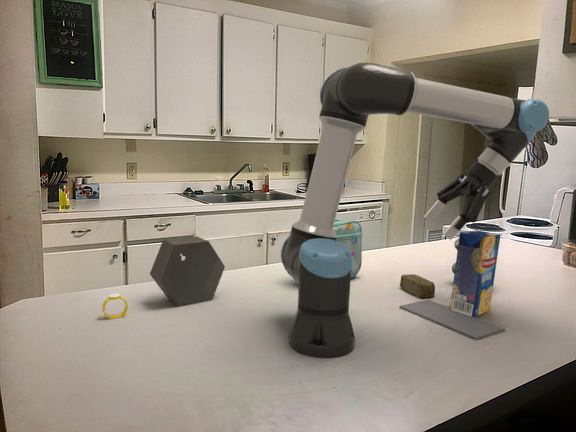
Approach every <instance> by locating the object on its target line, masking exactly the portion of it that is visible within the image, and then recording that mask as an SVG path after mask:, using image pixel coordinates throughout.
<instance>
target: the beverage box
mask: <svg viewBox="0 0 576 432" xmlns="http://www.w3.org/2000/svg"><path fill="white" fill-rule="evenodd" d="M501 235H502V234H501V233H500V234H499V233H494V232H488V231H483V230H477V229H476V230H469V231H467V230H466V231H459V236H458V237H459V238H458V239H459V244H458V251H457V250H456V251H457V252H456V259H455V263H456V266H455V274H454V273H453V284H452V289H451V290H452V291H451V298H450V305H449V307H450V310H451V311H455V312H458V313H461V314H465V315H468V316H471V317H477V316H480V315H482V314H484V313H487V312H489V311H491V305H492V297H493V289H494V283H495V282H494V281H495V275H496V268H497V261H498V254H499V247H500V241H501Z"/></svg>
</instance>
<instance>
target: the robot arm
mask: <svg viewBox="0 0 576 432" xmlns="http://www.w3.org/2000/svg"><path fill="white" fill-rule="evenodd" d="M319 101H320V104H321V109H320V111H319V117H318V119H319V121H320V122H321V124H322V128H321V129H322V130H321V135H320V138H319V143H318V146H317V149H316V154H315V158H314V162H313V167H312V169H311V173H310V178H309V182H308V186H307V190H306V194H305V198H304V202H303V204H302V205H303V206H302V210H301V214H300V217H299V220H297V221H295V222H294V223H293V224H292V225H291V228H290V233H289V236H288V237H287V238H285V240H284V241H283V244H282V245H281V249H280V259H281V263H282V264H283V268H284V270H285V271H286V273H288V275H289V276H290V277H291V278H294V279H295V280H296V281H295V280H294V279H293V280H294V281H295V282H296V283H297V284H298V289H297V290H298V295H297V310H296V314H295V315H294V319H293V322H292V325H291V327H290V329H289V333H288V344H289V345H290V347H291V348H292V349H293V350H295V351H297V352H298V353H300V354H301V353H302V354H304V355H308V356H312V357H317V358H318V357H319V358H331V357H333V358H334V357H340V356H344V355H346V354H349V353H351V352H352V351H353V350H354V349H355V341H356V339H355V338H356V336H355V332H354V328H353V325H352V324H353V323H352V320H351V317H350V313H349V312H350V310H349V309H350V293H351V281H352V278H351V269H352V259H351V251H350V249H349V247H348V246H346V245H345V244H343V243H341V242H339V241H336V239H337V235H336V233H335V231H334V229H333V226H334V222H335V219H337V214H338V210H339V206H340V201H341V197H342V194H343V190H344V187H345V182H346V178H347V175H348V171H349V167H350V164H351V160H352V155H353V152H354V147H355V143H356V140H357V136H358V134H359V133H361V132H363V131H364V130H365V129H366V126H367V122H368V119H369V115H383V114H384V115H387V114H388V115H396V116H403V115H405V114H407V113H410V114H415V115H422V116H426V117H431V118H437V119H438V118H439V119H443V120H449V121H454V122H459V123H464V124H470V126H472V127H474V128H475V129H476V130H477V131H479V133H481V134H482V135H483V136H485V138H487V139H488V141H490V143H489V145H488V146H487V147H486V148H485V150H483V152H482V153H481V154H480V155H479V156H478V157H477V160H478V161H474V162H473V164H472V165H471V166H470V167H469V168H468V170H467V173H468V174H469V175H468V176H466V175H465V174H463V173H462V174H460V175H459V176H458V177H457V178H456V179H455V180H453V181H452V182H450V183H449V184H448V185H447V186H445V187H444V188H442V189H441V190H440V191H438V192H437V194H436V196H437V200H436V202H435V203H434V204H433V205H432V206H431V208H430V209H429V210H428V211H427V212H426V213H425V215H424V216H423V217H424V218H425V219H426V220H427V221H429V222H430V223H432V222H433V221H434V220H435V219H436V218H437V216H438V215H439V214H440V213H441V212H442V210H443V209H444V208H445V207H446V206H447V205H448V203H449V202H450V201H453V200H454V199H457V198H458V197H461V196H465V202H464V205H463V208H462V209H463V210H462V211H461V212H462V213H461V214H459V215H458V216H457V217H456V218H455V219H454V220H453V222H452V223H451V224H450V225H449V226H448V227H447V229H446V230H445V231H444V232H443V233H442V235H443V236H445V237H446V238H447V239H449V240H450V241H451V240H452V239H453V238H454V237H455V236H456V235H457V234H458V233H459V232H461V230H463V228H464V227H465V225H466V224H468V223H470V222H471V223H476V221H477V219H478V216H479V215H480V213H481V211H482V209H483V206H484V204H485V202H486V200H487V198H488V197H489V196H490V194H491V190H490V189H488V188H491V187H492V186H493V185H494V183H496V182H497V180H498V178H499V176H501V175H502V174H503V173H504V172H505V170H506V169H507V168H508V167H510V165H511V164H512V163H513V161H514V160H515V159H516V158H517V157H518V156H519V155H520V154H521V153H522V151H524V149H525V148H526V147H527V146H528V145H529V144H530V142H531V141H532V140H533V138H534V137H535V136H536V135H537V132H539V131H542V130H543V129H544V128H545V127H546V126H547V124H548V122H549V117H550V110H549V107H548V105H547V104H546V103H545V101H543V100H541V99H532V98H528V99H521V98H515V97H509V96H505V95H500V94H494V93H491V92H486V91H481V90H477V89H471V88H467V87H466V88H465V87H461V86H456V85H452V84H447V83H443V82H437V81H433V80H428V79H423V78H418V77H416V76H415V74H414V73H413V72H412V71H408V70H404V69H399V68H397V67H391V66H388V65H387V66H386V65H383V64H378V63H374V62H359V63H355V64H352V65H351V66H347V67H343V68H340V69H337V70H335V71H334V72H333V73H331V74H329V76H327V78H326V79H325V80H324V81H323V83H322V85H321V87H320V92H319Z"/></svg>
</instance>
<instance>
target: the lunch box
mask: <svg viewBox="0 0 576 432" xmlns="http://www.w3.org/2000/svg"><path fill="white" fill-rule="evenodd" d="M333 229H334V231H335V233H336V235H337V239H336V241H339V242H341V243H343V244H345V245H346V246H348V247H349V249H350V251H351V259H352V269H351V279H352V278H355V277H356V276H357V275H358V274H359V272H360V270H361V267H362V262H363V261H362V259H363V257H362V253H363V252H362V249H363V248H362V246H363V245H362V238H363V234H362V233H363V230H362V225H361V224H360V222H358V221H357V220H354V219H353V220H352V219H351V220H346V219H339V218H335V222H334V226H333ZM292 278H293V277H292ZM293 280H294V281H295V282H297V281H296V280H295V279H294V278H293Z"/></svg>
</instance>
